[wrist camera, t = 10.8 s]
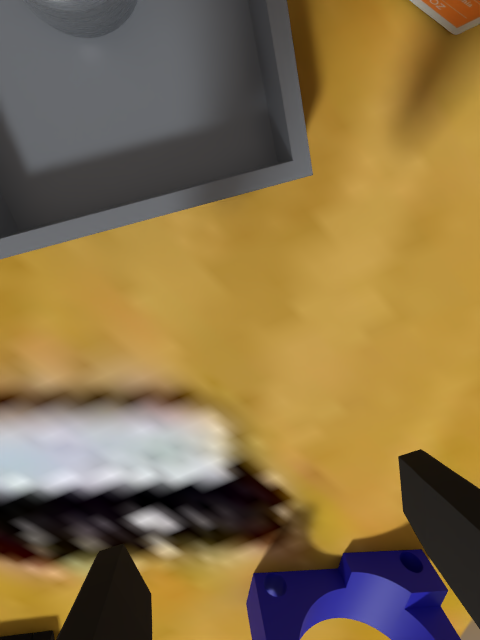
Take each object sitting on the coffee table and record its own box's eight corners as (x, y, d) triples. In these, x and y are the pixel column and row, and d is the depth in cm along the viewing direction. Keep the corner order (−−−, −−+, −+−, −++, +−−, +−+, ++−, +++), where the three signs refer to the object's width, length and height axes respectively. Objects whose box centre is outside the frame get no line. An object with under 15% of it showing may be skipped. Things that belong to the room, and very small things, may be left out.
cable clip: (419, 546, 26) (484, 645, 21) (400, 589, 28) (456, 692, 22) (256, 554, 24) (280, 668, 18) (245, 600, 25) (265, 718, 20)
